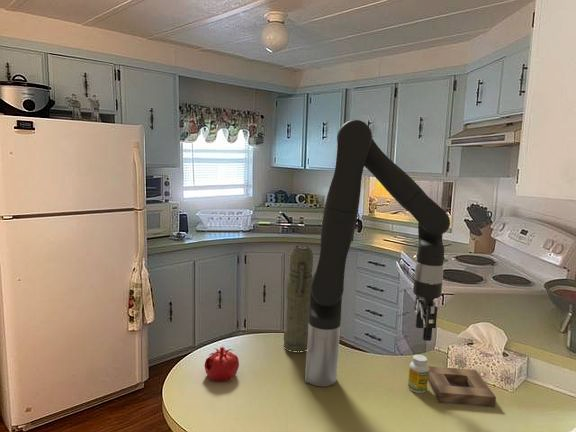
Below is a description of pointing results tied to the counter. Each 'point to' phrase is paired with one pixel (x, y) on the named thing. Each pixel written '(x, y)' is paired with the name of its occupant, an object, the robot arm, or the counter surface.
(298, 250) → the thermos
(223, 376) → the pomegranate
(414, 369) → the supplement bottle
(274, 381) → the counter surface
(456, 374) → the walnut holder
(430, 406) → the counter surface
